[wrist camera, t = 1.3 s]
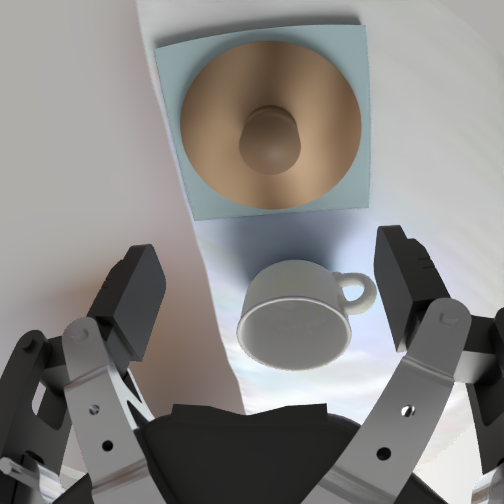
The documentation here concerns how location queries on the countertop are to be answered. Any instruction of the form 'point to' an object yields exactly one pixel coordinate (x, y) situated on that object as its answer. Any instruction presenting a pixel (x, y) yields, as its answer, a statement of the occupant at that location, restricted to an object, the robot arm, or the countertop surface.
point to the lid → (270, 125)
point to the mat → (309, 36)
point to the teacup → (300, 315)
